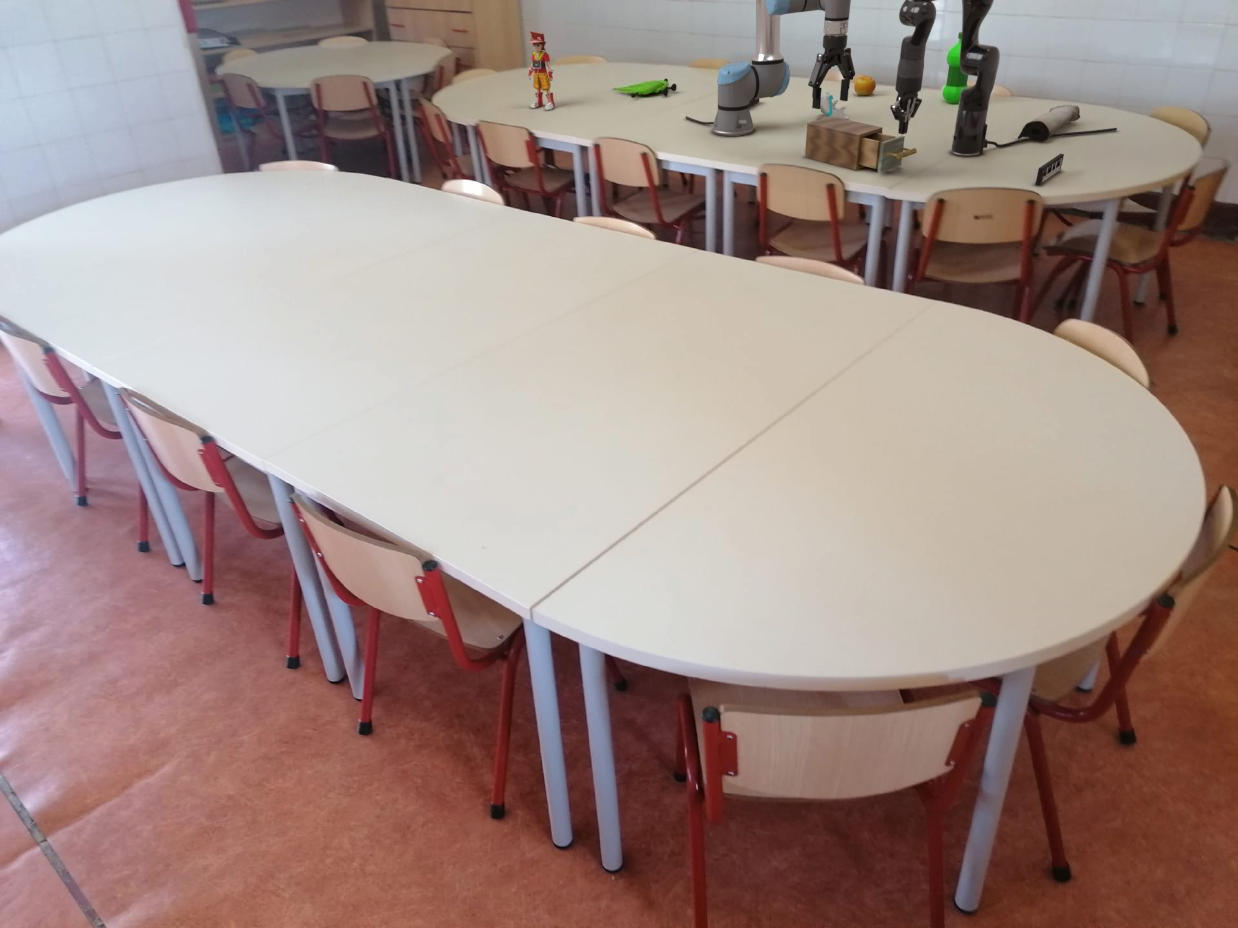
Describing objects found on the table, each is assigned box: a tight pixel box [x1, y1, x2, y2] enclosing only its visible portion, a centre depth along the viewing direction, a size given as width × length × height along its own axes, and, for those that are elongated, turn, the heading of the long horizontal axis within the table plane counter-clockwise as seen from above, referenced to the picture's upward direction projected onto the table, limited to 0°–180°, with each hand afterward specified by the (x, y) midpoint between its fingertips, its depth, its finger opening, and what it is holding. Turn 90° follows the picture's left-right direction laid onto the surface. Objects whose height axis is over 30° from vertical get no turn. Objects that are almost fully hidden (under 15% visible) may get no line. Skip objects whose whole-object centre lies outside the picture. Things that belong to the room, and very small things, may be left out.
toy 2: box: [612, 78, 677, 99], centre depth 396 cm, size 28×5×30 cm
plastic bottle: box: [942, 31, 969, 104], centre depth 348 cm, size 10×10×25 cm
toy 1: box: [527, 31, 556, 111], centre depth 374 cm, size 12×9×30 cm
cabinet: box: [804, 116, 883, 171], centre depth 298 cm, size 22×12×11 cm, turn 38°
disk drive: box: [749, 98, 761, 108], centre depth 367 cm, size 10×3×15 cm
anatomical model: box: [819, 91, 851, 120], centre depth 342 cm, size 15×10×10 cm
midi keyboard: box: [1035, 153, 1065, 186], centre depth 273 cm, size 18×1×5 cm, turn 138°
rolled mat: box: [1017, 104, 1081, 143], centre depth 313 cm, size 30×9×10 cm
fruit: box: [853, 75, 877, 96], centre depth 370 cm, size 8×9×8 cm
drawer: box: [858, 132, 918, 173], centre depth 289 cm, size 26×10×9 cm, turn 38°
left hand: (830, 104), depth 296 cm, fingers open, 13 cm apart
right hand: (902, 133), depth 279 cm, fingers closed
